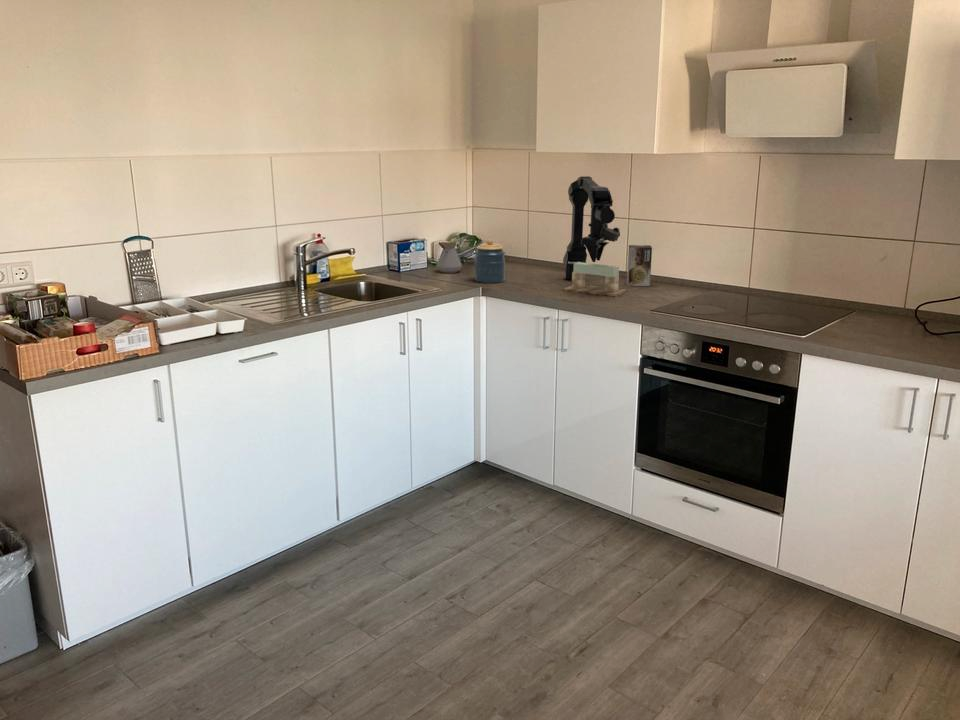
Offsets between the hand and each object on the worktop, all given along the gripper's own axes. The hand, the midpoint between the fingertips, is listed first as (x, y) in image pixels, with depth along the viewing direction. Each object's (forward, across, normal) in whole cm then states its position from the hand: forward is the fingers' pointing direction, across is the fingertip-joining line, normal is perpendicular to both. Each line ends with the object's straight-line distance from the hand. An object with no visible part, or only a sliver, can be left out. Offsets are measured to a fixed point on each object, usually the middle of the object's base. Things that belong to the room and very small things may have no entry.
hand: (596, 261), depth 300 cm
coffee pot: (+12, +4, +72) cm, 73 cm away
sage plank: (+5, 0, 0) cm, 5 cm away
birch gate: (+12, 0, 0) cm, 12 cm away
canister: (+12, -1, +47) cm, 49 cm away
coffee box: (+12, +23, -10) cm, 28 cm away
